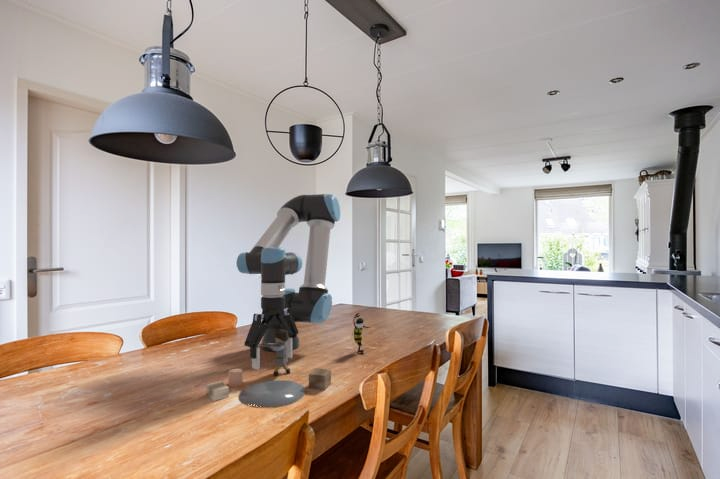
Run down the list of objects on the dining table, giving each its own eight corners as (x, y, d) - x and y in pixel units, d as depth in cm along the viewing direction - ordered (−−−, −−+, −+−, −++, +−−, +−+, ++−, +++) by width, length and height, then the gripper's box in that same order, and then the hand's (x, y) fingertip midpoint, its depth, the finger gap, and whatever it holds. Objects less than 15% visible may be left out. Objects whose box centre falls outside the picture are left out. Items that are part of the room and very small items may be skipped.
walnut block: (308, 391, 108) (308, 374, 108) (315, 384, 112) (315, 368, 112) (325, 393, 106) (325, 375, 106) (331, 386, 111) (330, 369, 111)
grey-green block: (206, 398, 103) (206, 384, 103) (220, 394, 106) (220, 380, 106) (214, 406, 98) (213, 391, 98) (228, 401, 101) (228, 387, 101)
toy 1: (264, 372, 123) (264, 327, 123) (292, 374, 121) (291, 328, 121) (253, 381, 115) (253, 332, 115) (283, 383, 114) (282, 334, 114)
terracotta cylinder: (225, 388, 110) (225, 371, 110) (237, 384, 113) (236, 367, 113) (233, 391, 107) (233, 374, 107) (245, 387, 111) (245, 370, 111)
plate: (225, 400, 102) (225, 395, 102) (275, 379, 116) (275, 376, 116) (269, 418, 91) (269, 413, 91) (318, 393, 106) (318, 389, 106)
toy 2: (370, 355, 140) (370, 315, 140) (350, 355, 140) (350, 315, 140) (370, 350, 147) (370, 312, 147) (351, 350, 147) (351, 312, 147)
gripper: (248, 301, 106) (248, 376, 106) (308, 292, 126) (308, 355, 126) (232, 299, 110) (232, 371, 110) (293, 290, 131) (293, 351, 130)
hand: (273, 362), depth 118 cm, fingers open, 13 cm apart
